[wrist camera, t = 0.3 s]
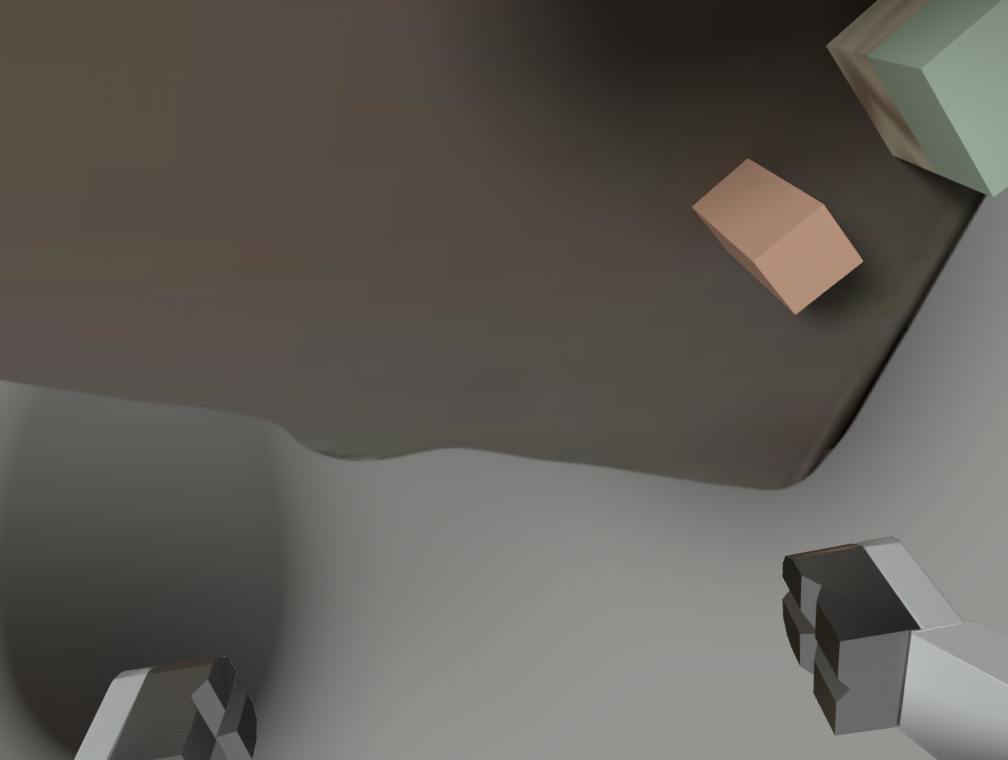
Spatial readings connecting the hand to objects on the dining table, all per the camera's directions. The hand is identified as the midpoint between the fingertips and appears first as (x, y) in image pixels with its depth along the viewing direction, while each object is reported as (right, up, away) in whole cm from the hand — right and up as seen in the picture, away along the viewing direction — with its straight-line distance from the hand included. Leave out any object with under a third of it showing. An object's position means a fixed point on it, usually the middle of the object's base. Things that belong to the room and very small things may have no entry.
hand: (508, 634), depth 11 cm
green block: (+26, +22, +31) cm, 46 cm away
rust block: (+15, +15, +39) cm, 44 cm away
